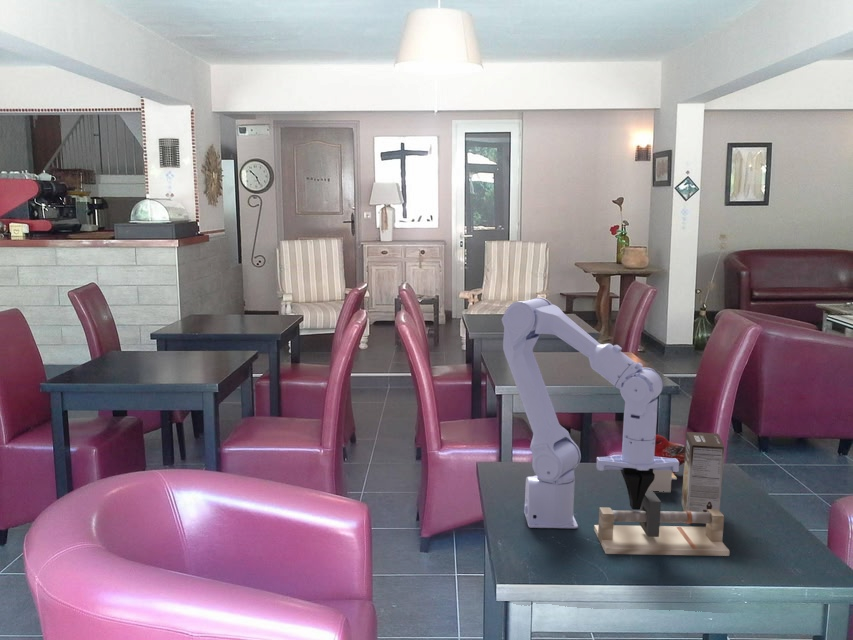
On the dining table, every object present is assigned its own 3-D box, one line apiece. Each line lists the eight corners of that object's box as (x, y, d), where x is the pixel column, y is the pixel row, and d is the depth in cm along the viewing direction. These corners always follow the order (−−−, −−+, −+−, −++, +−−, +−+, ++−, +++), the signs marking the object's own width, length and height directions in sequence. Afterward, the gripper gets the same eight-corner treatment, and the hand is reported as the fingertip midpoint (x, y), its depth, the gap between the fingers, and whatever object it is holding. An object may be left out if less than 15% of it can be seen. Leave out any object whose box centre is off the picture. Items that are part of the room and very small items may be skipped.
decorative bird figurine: (641, 475, 174) (644, 434, 173) (702, 466, 181) (705, 426, 179) (649, 480, 172) (652, 437, 170) (710, 470, 178) (714, 430, 177)
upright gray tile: (647, 536, 137) (649, 501, 136) (639, 524, 142) (641, 490, 141) (658, 536, 137) (661, 501, 136) (650, 524, 142) (652, 490, 141)
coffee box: (680, 504, 158) (685, 430, 155) (712, 507, 156) (718, 432, 154) (685, 522, 149) (691, 444, 146) (720, 526, 148) (726, 446, 145)
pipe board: (605, 553, 135) (607, 521, 134) (593, 529, 145) (595, 499, 144) (729, 555, 135) (731, 523, 134) (708, 531, 145) (711, 501, 144)
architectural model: (640, 488, 168) (642, 455, 167) (671, 488, 168) (673, 456, 167) (644, 493, 165) (646, 461, 164) (676, 494, 165) (678, 461, 163)
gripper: (603, 442, 133) (600, 515, 135) (686, 443, 133) (681, 517, 135) (595, 430, 140) (592, 500, 142) (674, 431, 140) (669, 501, 142)
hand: (634, 507), depth 139 cm, fingers closed
